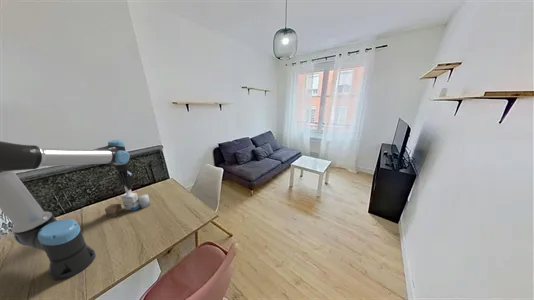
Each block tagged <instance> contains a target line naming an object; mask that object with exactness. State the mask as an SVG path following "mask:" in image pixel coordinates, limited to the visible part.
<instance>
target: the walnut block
mask: <svg viewBox="0 0 534 300" xmlns="http://www.w3.org/2000/svg"><path fill="white" fill-rule="evenodd" d="M104 211H105V214H106V217H114V218H116V217H117V216H118V215H119V214H120V213H122V212H123V207H122V203H111V204H109V206H107V207H105V208H104Z"/></svg>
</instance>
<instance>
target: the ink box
mask: <svg viewBox="0 0 534 300" xmlns="http://www.w3.org/2000/svg"><path fill="white" fill-rule="evenodd" d="M120 198H121V201H122V204H123V207H124V209H125V210H126V211H137V210H139V208H141V206H140V202H139V196H138V193H137V192H132V193H130V194H126V192H125V193H124V194H122V195H121V196H120Z"/></svg>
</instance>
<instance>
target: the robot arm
mask: <svg viewBox="0 0 534 300" xmlns="http://www.w3.org/2000/svg"><path fill="white" fill-rule="evenodd" d="M130 157H131V156H130V153H129V152H128V151H127V150H126V147H125V144H124V141H123V140H121V139H115V140H110V141H109V140H108V142H107V145H105V146H102V147H98V148H93V149H84V148H81V149H80V148H53V147H52V148H51V147H50V148H48V147H46V148H45V147H44V148H43V147H40V146H39V145H31V144H29V145H27V144H21V143H20V144H19V143H12V142H6V141H1V140H0V210H1V211H2V213H3V214H4V215H5V216H6V217H7V219H9V221H10V222H11V223H12V224H13V226H12V227H11V232H12V233H13V237H14V241H16V242H17V243H18V244H20V245H22V246H28V247H31V248H34V249H37V250H41V251H44V252H45V254H46V256H47V258H48V260H49V268H48V275H49V278H50V279H52V280H53V281H61V280H65V279H68V278H71V277H73V276H75V275H78V274H79V273H81V272H82V271H84V270H85V269H87V268H88V267H90V265H91V264H92V263H93V261H95V259H96V257H97V256H96V252H95V250H94V248H92V247H91V246H90V245H88V244H87V243H86V240H85V238H84V235H83V232H82V230H81V226H80V224H79V223H78V222H77V221H76V219H73V218H64V219H59V220H57V218H56V217H55V215H54V214H53V213H52V212H51V211H44V209H43V208H42V207H41V205H40V204H39V203H38V202H37V200H36V199H35V198H34V196H33V195H32V194H31V192H30V191H29V190H28V188H27V187H26V185H25V184H24V183H23V182H22V180H21V179H20V177H19V176H18V175H17V174H16V171H28V170H36V169H39V168H41V167H53V166H54V167H55V166H76V165H78V166H81V165H97V164H98V165H99V164H100V165H101V164H103V165H104V164H113V166H114V170H116V171H115V172H114V173H115V174H116V175H115V176H117V179H118V180H119V183H120V184H121V186H123V187H124V190H125V193H126V194H130V193H133V191H132V187H131V185H133V172H130V169H129V168H130V164H129V163H130V162H129V160H130Z"/></svg>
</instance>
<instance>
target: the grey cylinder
mask: <svg viewBox="0 0 534 300" xmlns="http://www.w3.org/2000/svg"><path fill="white" fill-rule="evenodd" d="M149 196H150V195H149V194H147V193H144V194H141V195H139V196H138V199H139V203H140V208H141V209H146V208H148V207H150V206H151V202H150V197H149Z"/></svg>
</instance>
